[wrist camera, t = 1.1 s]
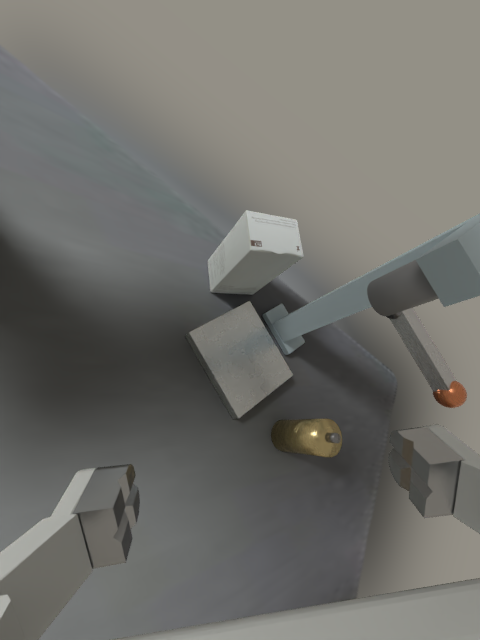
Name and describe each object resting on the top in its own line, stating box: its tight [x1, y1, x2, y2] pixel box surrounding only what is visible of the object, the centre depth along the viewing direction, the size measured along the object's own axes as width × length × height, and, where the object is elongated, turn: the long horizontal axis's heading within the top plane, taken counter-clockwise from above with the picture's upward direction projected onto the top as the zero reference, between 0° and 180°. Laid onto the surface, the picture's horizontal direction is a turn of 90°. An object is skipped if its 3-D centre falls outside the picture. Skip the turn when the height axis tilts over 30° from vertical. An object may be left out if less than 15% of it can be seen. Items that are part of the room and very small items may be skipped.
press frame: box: [262, 214, 480, 355], centre depth 36 cm, size 8×15×34 cm, turn 124°
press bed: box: [185, 301, 293, 419], centre depth 46 cm, size 14×12×2 cm
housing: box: [271, 419, 342, 457], centre depth 42 cm, size 5×5×12 cm
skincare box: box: [208, 210, 304, 295], centre depth 45 cm, size 8×6×15 cm
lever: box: [386, 308, 467, 408], centre depth 35 cm, size 14×3×3 cm, turn 34°
